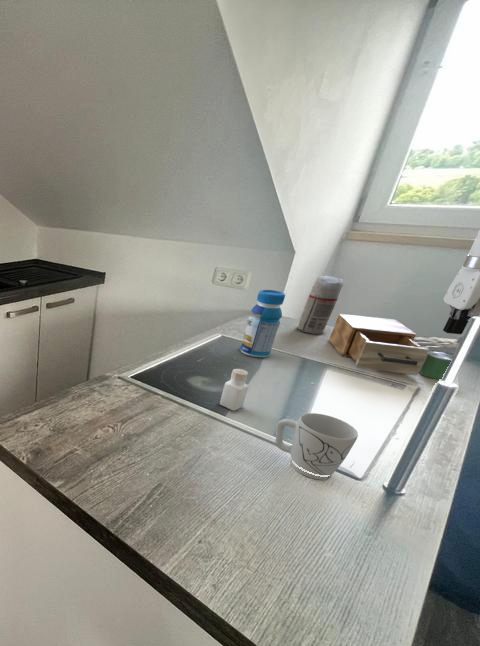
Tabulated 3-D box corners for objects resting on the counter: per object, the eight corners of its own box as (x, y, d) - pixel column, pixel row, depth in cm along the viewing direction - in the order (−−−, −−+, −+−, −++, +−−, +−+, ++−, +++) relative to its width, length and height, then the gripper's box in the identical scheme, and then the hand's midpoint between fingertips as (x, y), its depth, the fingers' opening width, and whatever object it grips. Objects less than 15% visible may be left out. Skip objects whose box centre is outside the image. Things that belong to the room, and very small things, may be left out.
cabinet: (402, 364, 117) (416, 334, 113) (341, 355, 122) (353, 327, 118) (383, 347, 129) (395, 319, 125) (329, 340, 134) (339, 313, 130)
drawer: (424, 382, 104) (438, 356, 101) (361, 373, 109) (372, 347, 106) (396, 357, 119) (407, 333, 116) (342, 350, 124) (351, 327, 121)
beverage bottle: (263, 360, 119) (283, 297, 111) (234, 352, 125) (251, 291, 117) (274, 353, 124) (293, 292, 116) (245, 345, 130) (262, 287, 122)
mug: (259, 458, 77) (274, 416, 73) (276, 442, 82) (291, 402, 78) (329, 491, 69) (350, 445, 65) (344, 471, 74) (364, 427, 69)
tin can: (440, 372, 111) (450, 353, 109) (451, 381, 107) (462, 361, 104) (414, 369, 113) (423, 350, 111) (423, 377, 109) (433, 357, 106)
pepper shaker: (243, 407, 95) (253, 372, 91) (233, 412, 93) (244, 376, 89) (227, 400, 98) (236, 366, 94) (218, 404, 96) (227, 370, 92)
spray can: (323, 329, 144) (343, 276, 135) (325, 336, 138) (346, 280, 129) (295, 325, 148) (313, 273, 140) (296, 332, 142) (315, 277, 133)
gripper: (450, 258, 105) (420, 322, 112) (483, 268, 92) (447, 340, 100) (488, 260, 102) (455, 326, 109) (528, 271, 89) (488, 344, 97)
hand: (451, 332), depth 105 cm, fingers closed
